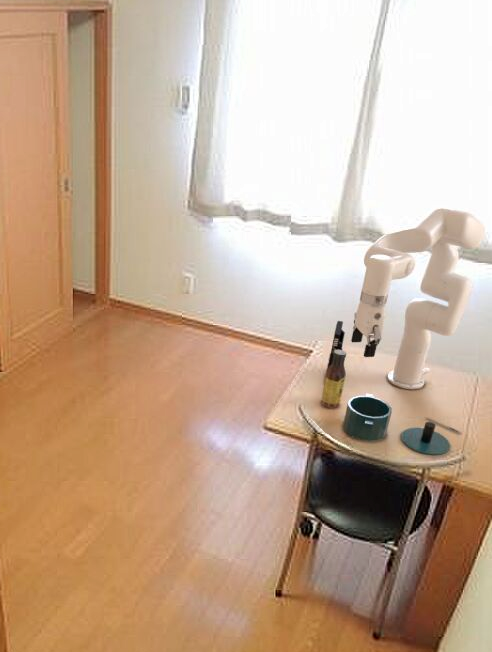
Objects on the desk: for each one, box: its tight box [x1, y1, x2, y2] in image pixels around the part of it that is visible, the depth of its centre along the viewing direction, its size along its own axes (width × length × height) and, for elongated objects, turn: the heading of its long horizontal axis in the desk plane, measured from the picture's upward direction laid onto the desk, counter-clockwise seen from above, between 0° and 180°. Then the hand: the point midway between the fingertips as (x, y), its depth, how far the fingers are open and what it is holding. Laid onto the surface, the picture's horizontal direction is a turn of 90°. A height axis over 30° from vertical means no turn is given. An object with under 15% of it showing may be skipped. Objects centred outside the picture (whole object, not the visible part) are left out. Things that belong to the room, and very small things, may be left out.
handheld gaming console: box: [325, 320, 346, 376], centre depth 234 cm, size 12×5×20 cm, turn 160°
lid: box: [401, 421, 451, 456], centre depth 203 cm, size 14×14×7 cm
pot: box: [342, 393, 393, 442], centre depth 208 cm, size 13×19×9 cm
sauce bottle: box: [321, 349, 347, 409], centre depth 218 cm, size 7×6×20 cm
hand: (362, 349), depth 201 cm, fingers open, 9 cm apart
